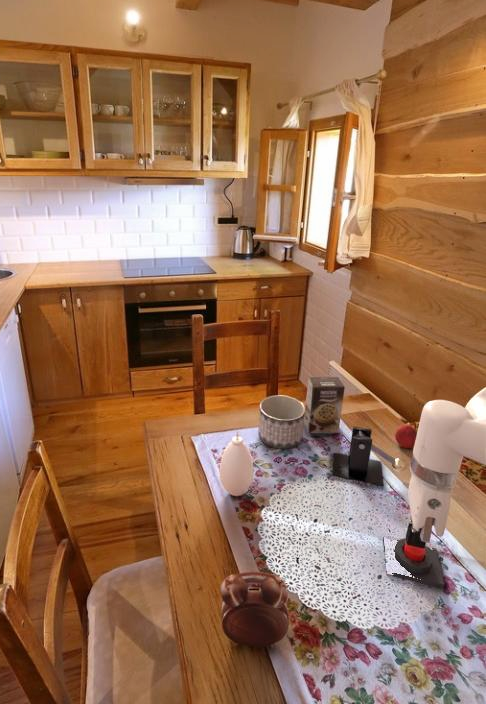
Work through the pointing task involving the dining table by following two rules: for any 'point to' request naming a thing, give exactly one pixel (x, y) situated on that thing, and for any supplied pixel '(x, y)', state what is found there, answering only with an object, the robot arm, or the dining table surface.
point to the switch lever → (386, 456)
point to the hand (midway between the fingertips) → (414, 543)
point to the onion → (406, 436)
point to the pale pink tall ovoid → (236, 467)
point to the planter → (281, 421)
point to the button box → (420, 566)
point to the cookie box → (323, 404)
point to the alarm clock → (254, 609)
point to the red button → (414, 553)
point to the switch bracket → (358, 461)
